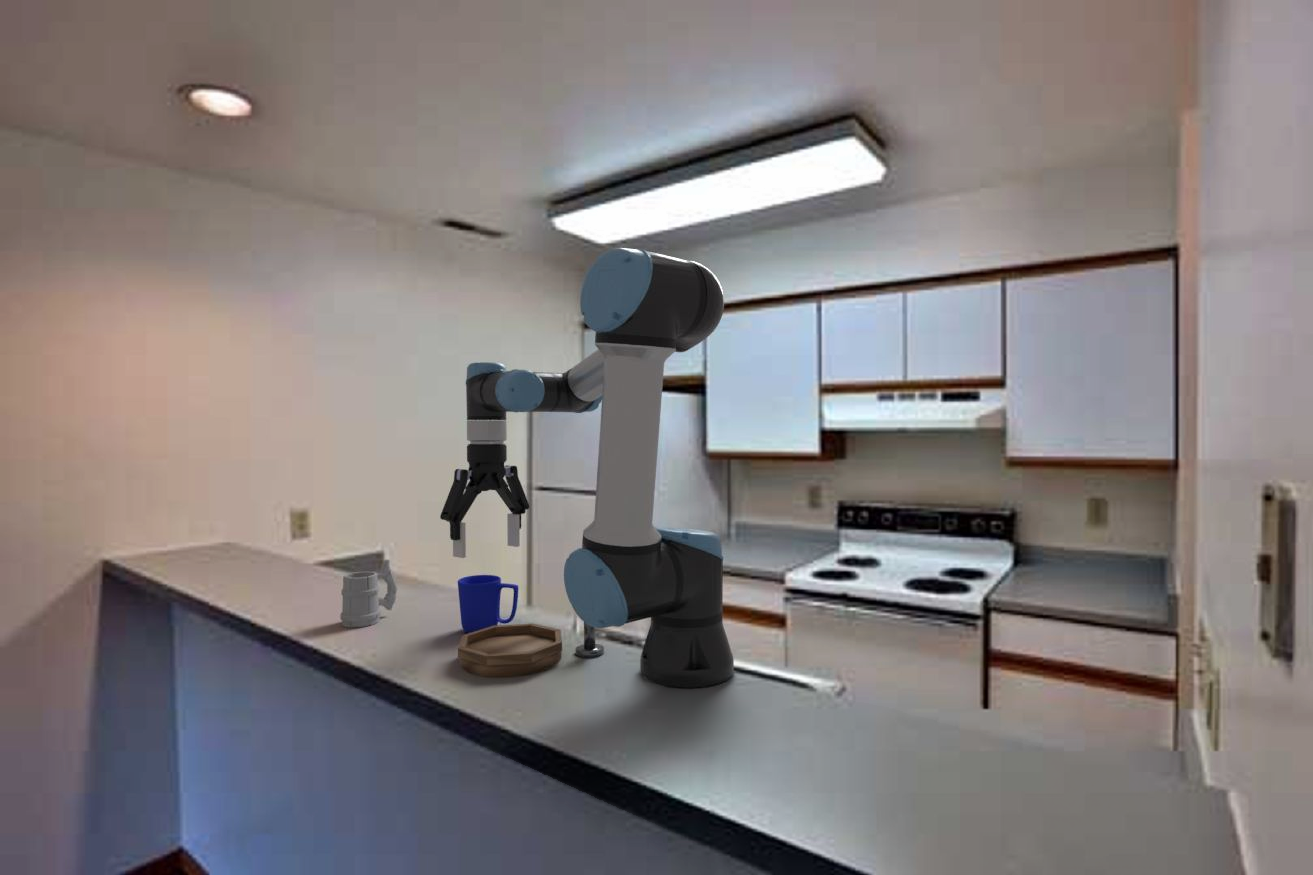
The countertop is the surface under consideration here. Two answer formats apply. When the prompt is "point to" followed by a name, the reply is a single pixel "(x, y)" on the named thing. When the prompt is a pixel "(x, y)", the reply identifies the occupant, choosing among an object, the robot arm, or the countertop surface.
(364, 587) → the mug
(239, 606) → the countertop surface
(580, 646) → the stand rod
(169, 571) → the countertop surface
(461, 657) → the octagonal wooden tray
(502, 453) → the robot arm
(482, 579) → the mug
